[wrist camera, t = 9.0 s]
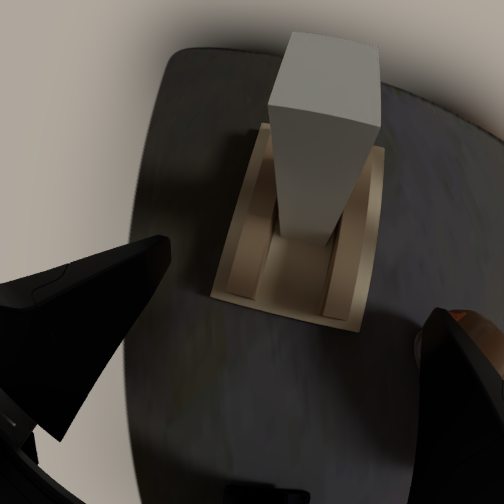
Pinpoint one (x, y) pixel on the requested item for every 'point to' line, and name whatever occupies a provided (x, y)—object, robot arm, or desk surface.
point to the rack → (300, 249)
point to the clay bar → (322, 130)
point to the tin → (476, 337)
